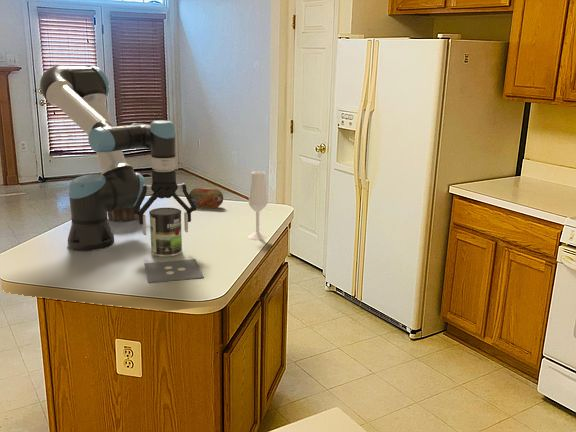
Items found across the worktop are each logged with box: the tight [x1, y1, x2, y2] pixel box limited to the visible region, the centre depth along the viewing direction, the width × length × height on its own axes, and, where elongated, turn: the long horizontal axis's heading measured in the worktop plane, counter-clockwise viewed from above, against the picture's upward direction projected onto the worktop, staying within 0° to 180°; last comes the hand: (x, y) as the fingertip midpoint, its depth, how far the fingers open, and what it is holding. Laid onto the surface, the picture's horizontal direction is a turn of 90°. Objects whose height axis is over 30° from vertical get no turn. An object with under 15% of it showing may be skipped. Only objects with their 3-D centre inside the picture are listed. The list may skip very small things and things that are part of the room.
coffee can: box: [148, 207, 183, 258], centre depth 190 cm, size 10×10×14 cm
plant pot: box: [107, 206, 141, 223], centre depth 227 cm, size 16×16×16 cm
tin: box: [188, 187, 224, 209], centre depth 248 cm, size 15×3×8 cm, turn 80°
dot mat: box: [144, 258, 205, 284], centre depth 175 cm, size 16×16×1 cm
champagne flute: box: [248, 170, 268, 241], centre depth 206 cm, size 7×7×24 cm
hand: (165, 232), depth 190 cm, fingers open, 13 cm apart
